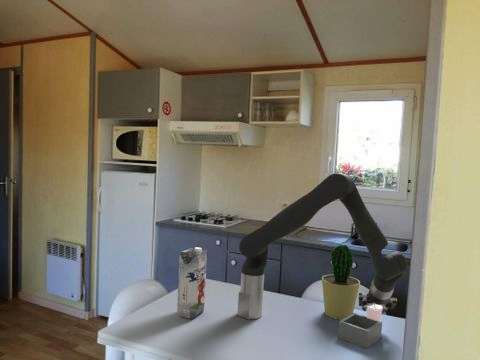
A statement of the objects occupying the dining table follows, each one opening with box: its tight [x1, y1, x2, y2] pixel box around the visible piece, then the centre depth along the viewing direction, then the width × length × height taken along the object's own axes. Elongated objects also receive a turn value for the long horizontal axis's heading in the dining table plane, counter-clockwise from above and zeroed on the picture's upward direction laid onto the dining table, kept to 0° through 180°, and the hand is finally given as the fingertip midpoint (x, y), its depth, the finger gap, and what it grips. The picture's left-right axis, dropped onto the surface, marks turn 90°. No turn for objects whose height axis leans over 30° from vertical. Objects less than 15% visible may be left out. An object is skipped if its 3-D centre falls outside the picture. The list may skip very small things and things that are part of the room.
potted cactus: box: [321, 244, 361, 321], centre depth 164 cm, size 15×15×30 cm
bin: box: [337, 312, 383, 349], centre depth 144 cm, size 12×11×6 cm
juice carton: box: [176, 246, 208, 320], centre depth 156 cm, size 9×10×27 cm
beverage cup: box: [366, 304, 383, 321], centre depth 152 cm, size 6×6×14 cm
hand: (373, 309), depth 154 cm, fingers closed on beverage cup, 6 cm apart
